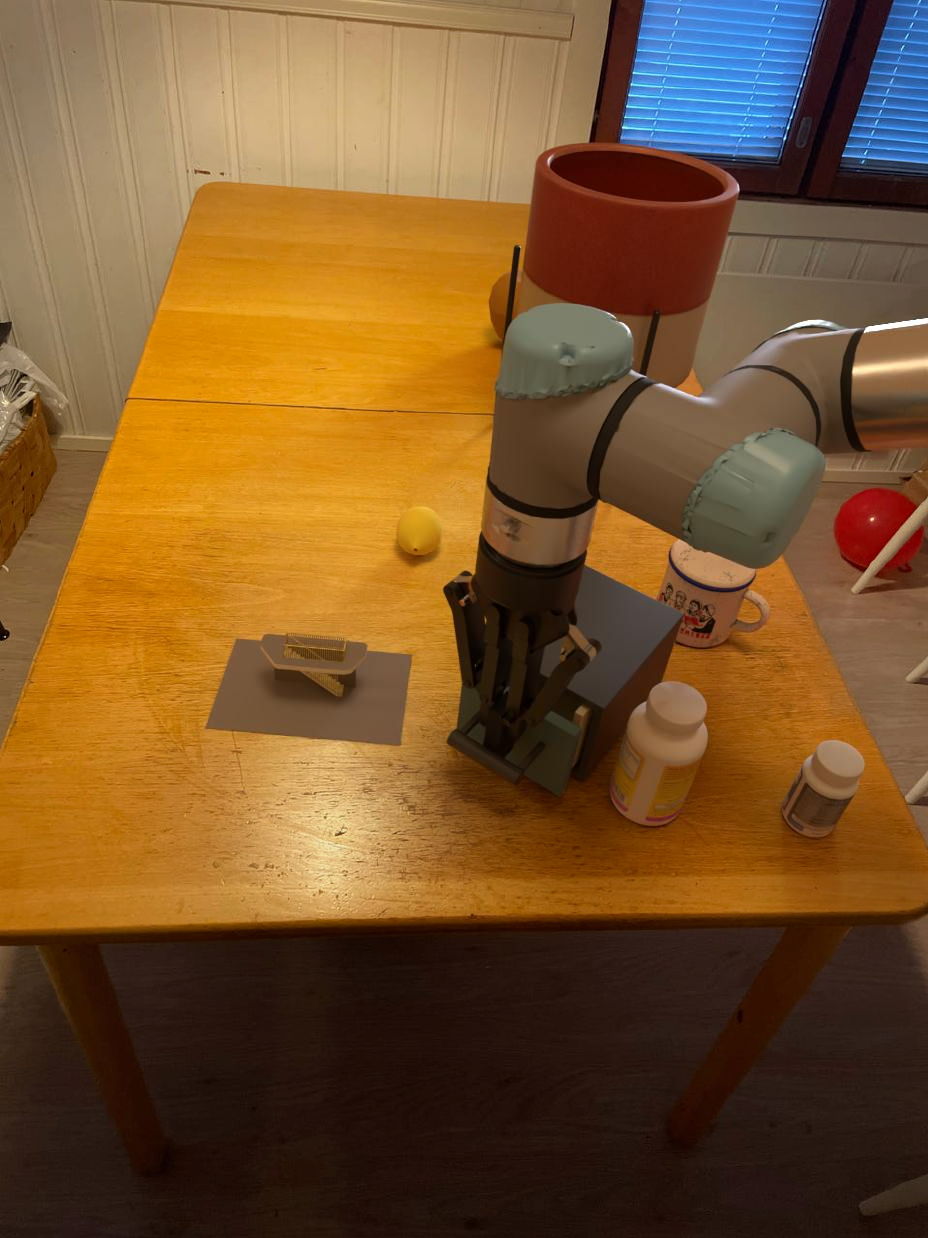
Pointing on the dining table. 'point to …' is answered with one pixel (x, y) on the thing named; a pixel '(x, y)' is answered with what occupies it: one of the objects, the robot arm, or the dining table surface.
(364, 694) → the platform
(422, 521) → the lemon
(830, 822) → the pill bottle
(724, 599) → the teacup with lid
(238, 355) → the dining table surface
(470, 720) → the teal drawer
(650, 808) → the supplement bottle
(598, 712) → the drawer cabinet
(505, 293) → the apple
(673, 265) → the planter
